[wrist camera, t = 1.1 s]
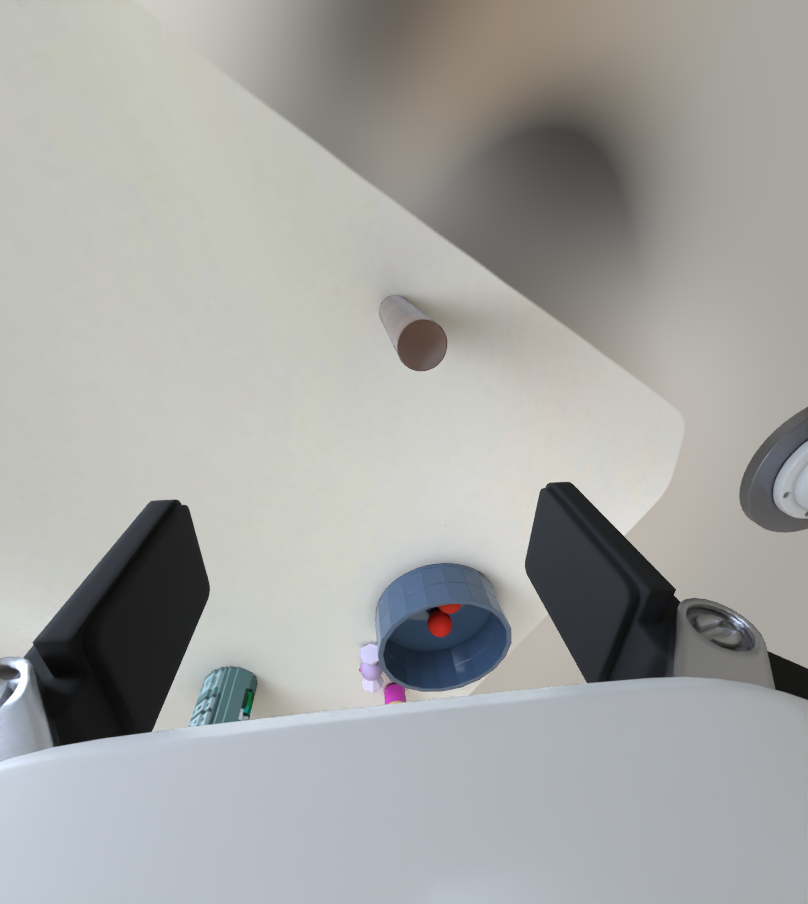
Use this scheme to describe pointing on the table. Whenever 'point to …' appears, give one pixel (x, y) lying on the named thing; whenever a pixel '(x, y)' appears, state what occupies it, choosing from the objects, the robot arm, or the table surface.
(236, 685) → the can
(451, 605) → the tomato
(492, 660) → the bowl
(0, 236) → the table surface
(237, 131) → the table surface
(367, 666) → the candy
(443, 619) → the tomato
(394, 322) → the stick
